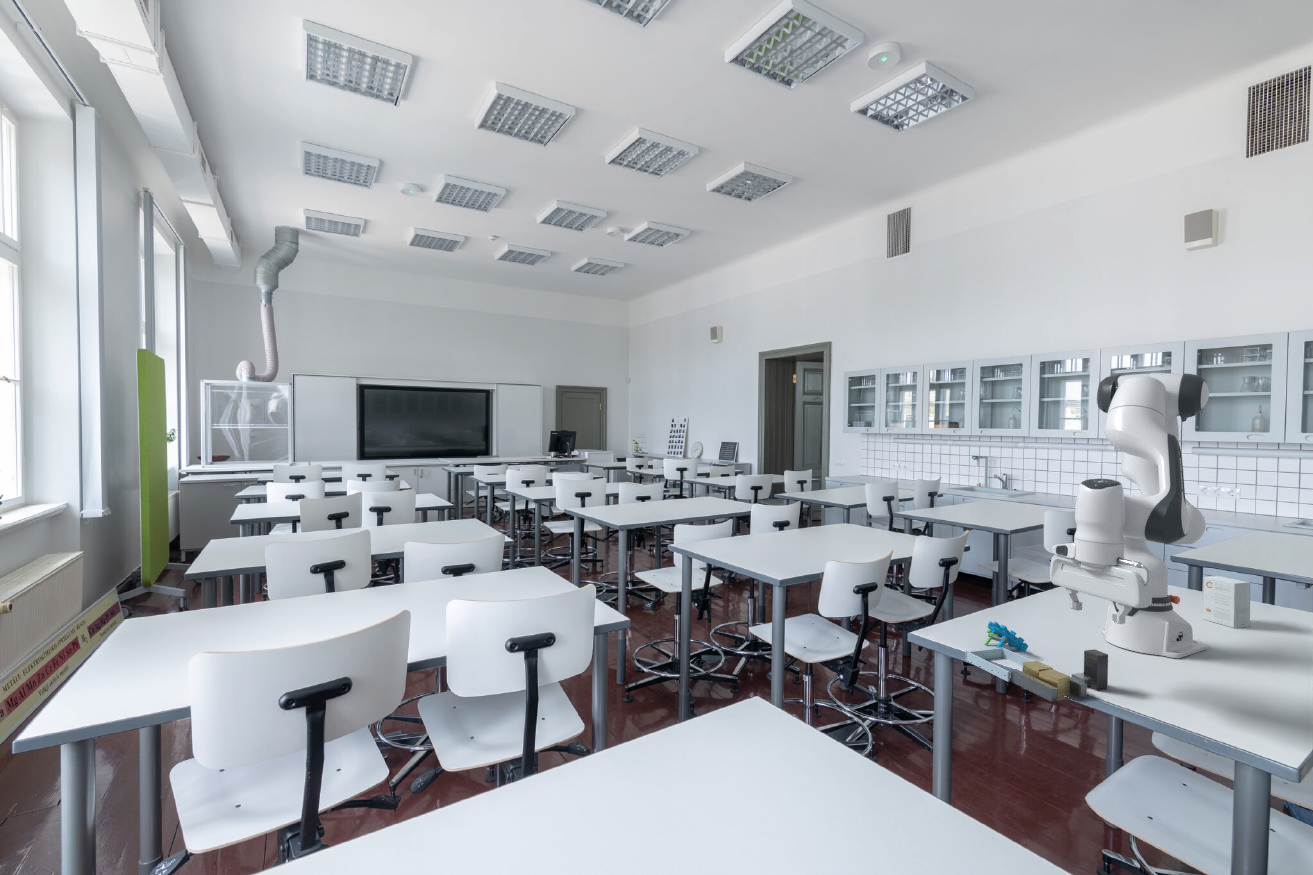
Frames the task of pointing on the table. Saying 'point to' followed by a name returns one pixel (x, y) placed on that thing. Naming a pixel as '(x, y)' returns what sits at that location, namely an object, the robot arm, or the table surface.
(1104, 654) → the dark grey stepped block
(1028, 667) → the tan block
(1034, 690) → the slot rail
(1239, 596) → the small box
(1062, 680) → the chip
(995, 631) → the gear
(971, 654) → the tray
